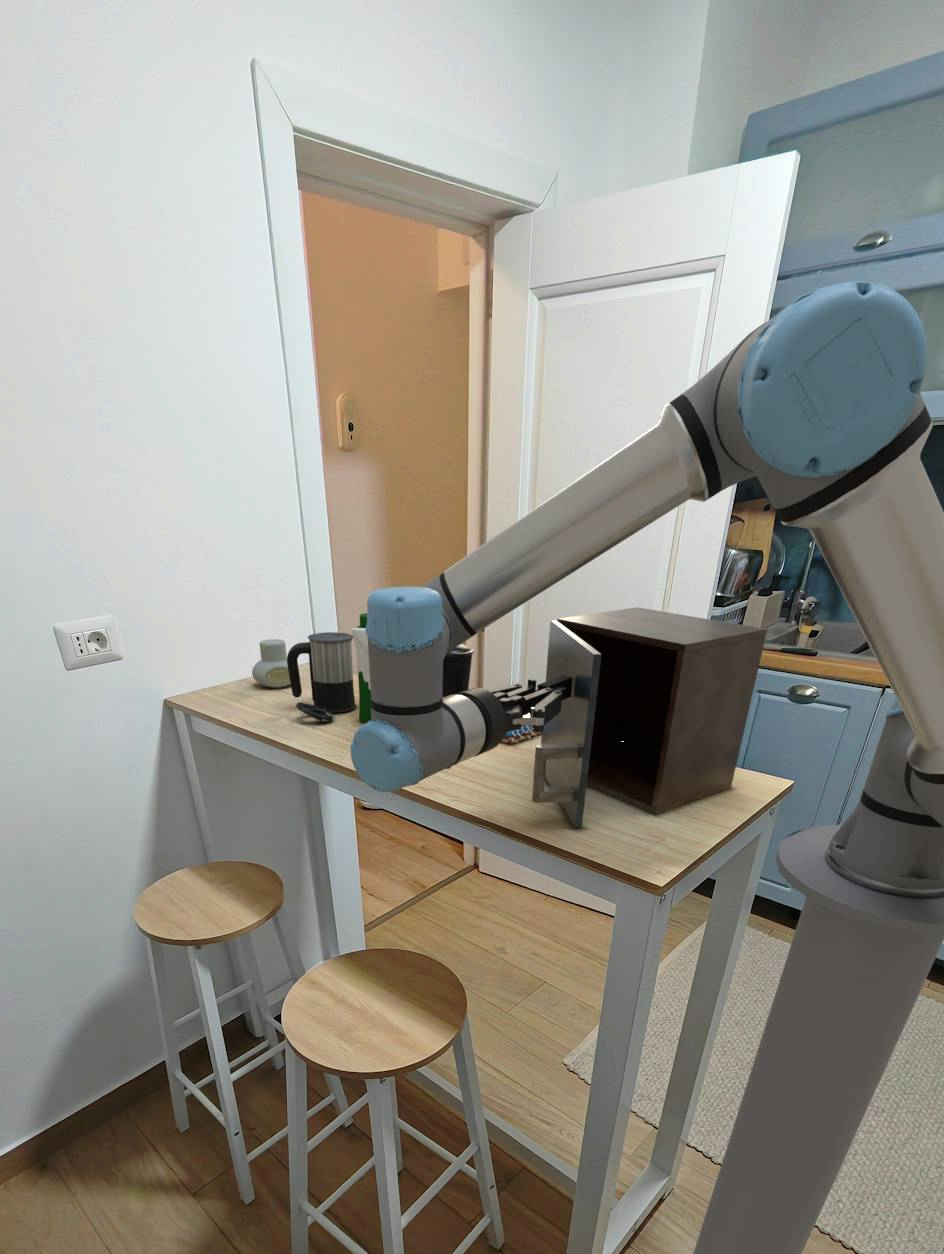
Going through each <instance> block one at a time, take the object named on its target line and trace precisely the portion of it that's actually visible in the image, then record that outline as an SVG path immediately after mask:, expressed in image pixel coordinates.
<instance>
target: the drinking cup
mask: <svg viewBox="0 0 944 1254" xmlns="http://www.w3.org/2000/svg"><path fill="white" fill-rule="evenodd" d="M474 653H475V650H474V648H472V647H469V646H467V645H466V644H464V643H462V644H460V645H459V646H457V647H455V648H454V649H452V650H451V651H449V652H448V653H447V654H446V656H445V658H444V660H443V685H442V697H443V698H444V697H447V696H449V695H454V694H457V693H460V692H463V691H466V690H469V689H470V687H469V686H470V680H471V679H470V677H471V668H472V660H473V659H472V658H473V655H474Z"/></svg>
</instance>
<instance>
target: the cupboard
mask: <svg viewBox="0 0 944 1254" xmlns="http://www.w3.org/2000/svg"><path fill="white" fill-rule="evenodd" d="M556 620H557V621H558V622H559V623H561V624H562V625H563V626H565V627H566V628H567V629H569V630H570V631H571V632H573V633H574V634H575V635H577V636H578V637H579V638H581V639H582V640H583V641H585V642H586V643H587V644H589V645H590V646H591V647H593V648H594V649H595V650H597V651H598V652H599V653H601V654H602V656H601V665H600V673H599V682H598V691H597V699H596V708H595V717H594V725H593V734H592V743H591V751H590V760H589V769H588V777H587V786H586V787H589V788H590V789H591V788H592V789H594V790H596V791H598V792H600V793H603V794H606V795H608V796H610V797H612V798H615V799H618V800H619V801H622V802H624V803H626V804H629V805H631V806H633V807H636V808H638V809H641V810H643V811H645V812H648V813H651V814H653V815H656V816H657V815H660V814H662V813H665V812H668V811H671V810H674V809H677V808H679V807H682V806H685V805H687V804H690V803H693V802H696V801H698V800H701V799H704V798H707V797H710V796H712V795H715V794H718V793H721V792H724V791H727V790H730V789H731V788H732V785H733V781H734V776H735V772H736V767H737V763H738V759H739V756H740V755H739V754H740V751H741V746H742V741H743V737H744V733H745V728H746V725H747V720H748V715H749V711H750V707H751V702H752V698H753V694H754V689H755V686H756V681H757V676H758V672H759V669H760V663H761V659H762V655H763V649H764V647H765V642H766V637H767V632H768V628H763V627H757V626H751V625H746V624H739V623H734V622H733V623H732V622H727V621H722V620H715V619H711V618H710V619H708V618H703V617H696V616H692V615H685V614H679V613H673V612H667V611H660V610H656V609H655V610H654V609H651V608H644V607H629V608H622V609H616V610H609V611H602V612H596V613H595V612H594V613H587V614H581V615H580V614H579V615H574V616H566V617H560V618H559V617H558V618H557V619H556ZM621 741H624V742H621Z"/></svg>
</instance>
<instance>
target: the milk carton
mask: <svg viewBox="0 0 944 1254" xmlns="http://www.w3.org/2000/svg"><path fill="white" fill-rule="evenodd" d="M366 624H367V612H366V613H361V614H359V625H358V626H355V627H352V628H351V635H352V636H353V642H354V645H355V651H356V662H357V663H356V664H357V678H358V681H357V682H358V721H359V722H361V723H365V724H366V723H367V722H368V721H371V686H370V669H369V653H368V638H367V634H366Z"/></svg>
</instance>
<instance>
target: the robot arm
mask: <svg viewBox="0 0 944 1254" xmlns="http://www.w3.org/2000/svg"><path fill="white" fill-rule="evenodd" d="M927 365H928V346H927V338H926V333H925V329H924V326H923V324H922V321H921V319H920V316H919V315H918V313H917V311H916V310H915V308H914V307H913V306H912V304H911V303H910V302H909V301H908V300H907V299H906V298H905V297H904V296H903V295H901V294H900V293H899V292H897V291H896V290H894V289H892V287H891V288H890V287H888V286H886V285H884V284H880V283H877V282H871V281H857V280H856V281H847V282H846V281H845V282H842V283H838V284H836V283H835V284H833V285H828V286H823V287H820V288H817V289H814V290H813V291H810V292H808V293H806V294H803V295H801V296H799V297H798V298H796V299H795V300H794V301H792V302H791V303H790V304H789V305H787V306H786V307H785V308H783V309H781V310H779V312H778V313H777V314H775V315H774V316H773V317H771V318H770V319H768V320H767V321H766V322H764V323H761V325H760V326H757V327H756V328H755V329H754V330H752V331H751V332H750V333H748V334H747V335H746V336H745V337H744V338H743V339H742V340H741V341H740V342H739V343H738V344H736V346H735V347H734V348H733V349H731V351H729V352H728V354H726V355H725V356H724V357H723V358H722V359H721V360H719V362H718V363H716V365H715V366H714V367H713V368H711V369H710V370H709V371H708V372H707V373H706V374H705V375H704V376H702V377H701V378H700V379H698V380H697V381H696V382H695V383H694V384H693V385H691V386H690V387H689V388H687V389H686V390H685V391H683V392H682V393H680V395H678V396H677V397H676V398H674V399H672V400H671V401H669V402H668V403H667V404H665V405H664V406H663V410H662V412H661V414H660V415H661V416H660V419H659V421H658V423H657V424H656V425H653V427H651V428H650V429H648V430H647V431H646V432H644V433H643V434H641V435H639V436H638V437H637V438H636V439H634V440H633V441H631V442H630V443H628V444H627V445H625V446H624V447H622V448H621V449H619V450H618V451H616V452H615V453H614V454H612V455H611V456H609V457H607V458H606V459H605V460H604V461H602V462H601V463H599V464H598V465H596V466H595V467H593V468H592V469H590V470H589V471H588V472H585V474H583V475H582V476H580V477H579V478H577V479H576V480H574V481H573V482H571V483H570V484H569V485H568V486H566V487H564V488H563V489H562V490H560V491H559V492H557V493H555V494H554V495H553V496H551V497H550V498H549V499H547V500H545V501H544V502H543V503H541V504H540V505H538V506H537V507H535V508H534V509H533V510H531V511H530V512H528V513H527V514H525V515H523V516H522V517H520V519H518V520H516V521H515V522H513V523H512V524H511V525H509V526H508V527H507V528H505V529H504V530H502V531H501V532H499V533H498V534H496V535H495V536H493V537H492V538H490V539H489V540H487V541H486V542H485V543H483V544H481V545H480V546H479V547H477V548H476V549H474V550H473V551H471V552H470V553H469V554H468V555H466V556H464V557H462V559H460V560H458V561H457V562H455V563H454V564H453V565H452V566H450V567H449V568H447V569H445V570H444V571H443V572H442V573H441V574H439V575H437V576H436V577H434V578H432V579H431V580H429V581H428V582H427V583H425V584H424V585H423V586H393V587H391V586H390V587H384V588H380V589H376V590H374V591H372V592H371V593H370V594H369V596H368V597H367V600H366V601H367V602H366V613H367V624H366V634H367V638H368V653H369V669H370V686H371V721H368V722H367V723H366V722H365V723H364V724H363V725H361V726H359V727H358V728H357V729H356V730H355V731H354V734H353V739H352V740H351V743H350V758H351V762H352V765H353V768H354V770H355V772H356V774H357V775H358V776H359V778H360V779H361V781H362V782H363V783H364V784H365V785H366V786H368V787H369V788H371V789H373V790H375V791H377V792H381V793H392V792H395V791H397V790H400V789H404V788H406V787H410V786H415V785H418V784H419V783H420V782H421V781H423V780H425V779H427V778H429V777H432V776H433V775H435V774H437V773H440V772H442V771H444V770H450V769H451V768H452V767H454V766H456V765H458V764H460V763H463V762H465V761H467V760H470V759H472V758H474V757H477V756H479V755H482V754H485V753H487V752H489V751H491V750H493V749H495V748H497V747H498V746H499V745H500V744H501V742H502V739H503V738H504V736H505V735H506V733H507V732H509V731H515V730H519V729H520V728H521V727H522V725H529V727H530V728H533V730H534V731H535V732H542V731H544V725H545V724H547V723H548V722H549V721H550V720H551V719H552V718H554V717H555V716H556V715H557V714H558V713H560V712H561V701H562V700H564V699H567V698H569V697H571V691H572V681H573V677H570V676H564V675H563V676H560V677H558V678H555V679H552V680H549V681H547V682H546V681H544V682H541V683H538V684H537V679H532V678H531V679H530V678H529V679H527V685H525V686H523V685H522V684H520V683H514V684H509V685H505V686H500V687H495V688H489V689H486V688H483V687H472V688H468V690H466V691H463V692H460V693H457V694H454V695H449V696H447V697H444V698H443V697H442V685H443V660H444V658H445V656H446V654H447V653H448V652H449V651H451V650H452V649H454V648H455V647H457V646H459V645H460V644H464V643H465V642H466V641H468V640H469V639H471V638H473V637H474V636H475V635H477V634H478V633H479V632H481V631H483V630H484V629H485V628H487V627H488V626H491V625H492V624H494V623H495V622H497V621H498V620H501V618H503V617H505V616H506V615H508V614H509V613H511V612H513V611H514V610H516V609H517V608H519V607H521V606H522V605H524V604H525V603H527V602H529V601H530V600H532V599H533V598H535V597H536V596H538V595H540V594H541V593H543V592H544V591H546V590H548V589H550V588H551V587H553V586H554V585H556V584H557V583H559V582H560V581H562V580H564V579H565V578H566V577H568V576H570V575H571V574H573V573H575V572H576V571H578V570H579V569H581V568H582V567H584V566H586V565H587V564H589V563H591V562H592V561H594V560H595V559H597V558H598V557H600V556H601V555H603V554H605V553H606V552H608V551H610V550H611V549H613V548H614V547H616V546H618V545H619V544H620V543H622V542H624V541H625V540H627V539H628V538H630V537H632V536H633V535H635V534H636V533H638V532H640V531H641V530H643V529H644V528H646V527H648V526H649V525H651V524H652V523H654V522H656V521H657V520H659V519H660V518H662V517H664V516H665V515H667V514H669V512H671V511H673V510H674V509H675V510H676V508H678V507H679V506H681V505H682V504H684V503H686V502H687V501H690V500H693V501H696V502H701V503H705V502H706V501H708V500H709V499H711V498H713V497H715V496H716V495H718V494H720V492H722V491H724V490H727V489H728V488H730V487H732V486H734V485H737V484H738V483H742V482H743V481H746V480H748V479H751V478H752V479H753V478H755V477H757V480H758V481H759V483H760V485H761V486H762V489H763V491H764V493H765V494H766V496H767V499H768V500H769V502H770V503H771V506H772V508H773V509H774V511H775V513H776V514H777V517H778V518H779V520H780V522H781V524H782V525H783V526H787V527H796V528H802V529H806V530H808V531H809V532H810V534H811V536H812V538H813V540H814V542H815V544H816V545H817V548H818V549H819V551H820V554H821V556H822V557H823V558H824V561H825V563H826V564H827V568H828V569H829V571H830V572H831V574H832V576H833V578H834V580H835V583H836V585H837V586H838V588H839V590H840V592H841V594H842V597H844V600H845V602H846V603H847V606H848V607H849V610H850V611H851V613H852V616H853V618H854V619H855V621H856V624H857V625H858V627H859V628H860V631H861V633H862V635H863V636H864V638H865V639H866V642H867V644H868V646H869V648H870V650H871V652H872V654H873V656H874V658H875V660H876V662H877V663H878V666H879V667H880V670H881V671H882V673H883V675H884V677H885V679H886V681H887V683H888V685H889V687H890V689H891V690H892V693H893V695H894V696H895V697H894V699H893V701H892V704H891V706H890V708H889V710H888V712H887V713H886V716H885V722H884V724H883V727H882V731H881V734H880V737H879V740H878V743H877V747H876V749H875V752H874V756H873V758H872V762H871V766H870V768H869V770H868V774H867V777H866V780H865V783H864V786H863V789H862V791H861V796H860V799H859V801H858V803H857V805H856V806H855V808H854V809H853V810H852V811H851V813H850V814H849V815H848V817H847V818H846V819H845V820H844V822H843V823H842V824H841V825H842V826H841V827H840V828H839V830H838V831H837V832H836V833H835V835H834V836H833V837H832V839H831V841H830V843H829V845H828V848H827V851H826V854H825V860H826V862H827V864H828V865H829V867H830V868H831V869H832V870H833V871H835V872H836V873H837V874H839V875H840V876H842V877H843V878H845V879H847V880H849V881H851V882H853V883H855V884H857V885H860V886H862V887H865V888H868V889H871V890H874V891H877V892H881V893H885V894H889V895H894V896H899V897H906V898H918V899H932V898H941V897H944V509H943V507H942V505H941V503H940V501H939V499H938V496H937V494H936V492H935V489H934V487H933V485H932V482H931V480H930V478H929V476H928V473H927V471H926V468H925V467H924V465H923V462H922V460H921V453H922V451H923V449H924V447H925V444H926V442H927V439H928V438H929V435H930V434H931V431H932V429H933V425H934V423H933V420H932V418H931V415H930V413H929V411H928V408H927V406H926V404H925V401H924V398H923V396H922V393H921V389H922V385H923V380H924V379H925V377H926V373H927Z"/></svg>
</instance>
